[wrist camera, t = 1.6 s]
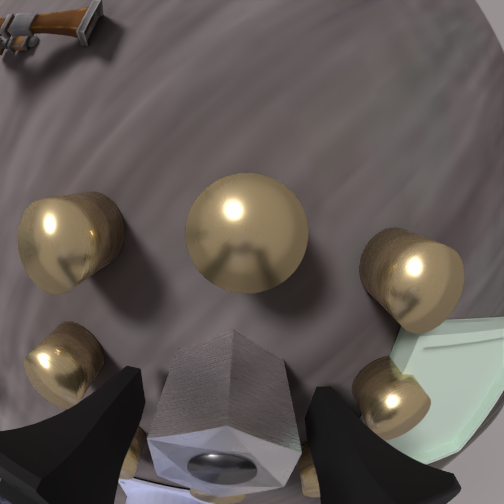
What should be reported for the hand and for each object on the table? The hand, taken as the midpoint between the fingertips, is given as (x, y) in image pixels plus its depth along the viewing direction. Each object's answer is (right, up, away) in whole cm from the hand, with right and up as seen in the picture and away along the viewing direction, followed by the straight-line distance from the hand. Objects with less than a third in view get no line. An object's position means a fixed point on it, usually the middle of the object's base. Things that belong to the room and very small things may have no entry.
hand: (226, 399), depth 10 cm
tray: (+14, -4, +3) cm, 14 cm away
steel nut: (0, 0, +1) cm, 2 cm away
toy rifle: (-9, +16, -3) cm, 19 cm away
